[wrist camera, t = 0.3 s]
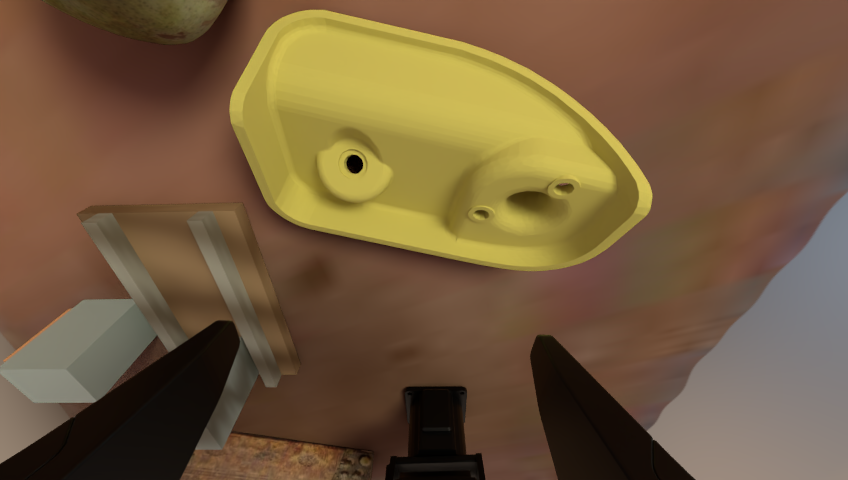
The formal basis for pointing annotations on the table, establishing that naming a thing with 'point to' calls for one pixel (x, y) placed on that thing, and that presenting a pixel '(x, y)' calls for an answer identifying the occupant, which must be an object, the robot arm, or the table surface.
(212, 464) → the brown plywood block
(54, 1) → the fruit
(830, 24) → the table surface
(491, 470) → the table surface
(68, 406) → the table surface
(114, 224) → the rail
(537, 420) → the table surface
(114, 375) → the grey green block
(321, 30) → the plastic component
